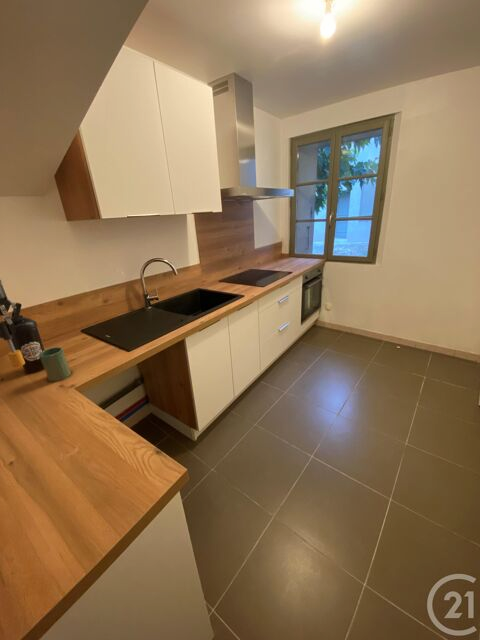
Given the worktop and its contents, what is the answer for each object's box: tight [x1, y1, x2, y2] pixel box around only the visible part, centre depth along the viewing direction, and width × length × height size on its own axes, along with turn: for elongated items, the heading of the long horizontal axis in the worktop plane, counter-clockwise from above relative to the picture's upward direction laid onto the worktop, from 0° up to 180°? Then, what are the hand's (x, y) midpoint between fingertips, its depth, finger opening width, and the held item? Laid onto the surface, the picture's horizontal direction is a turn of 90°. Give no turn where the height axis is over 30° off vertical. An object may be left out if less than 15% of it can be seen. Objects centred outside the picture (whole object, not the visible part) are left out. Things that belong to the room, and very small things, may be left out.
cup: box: [39, 346, 72, 382], centre depth 102 cm, size 8×8×11 cm
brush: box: [0, 320, 25, 368], centre depth 88 cm, size 3×3×16 cm
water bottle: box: [11, 314, 45, 374], centre depth 107 cm, size 10×10×23 cm
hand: (6, 335), depth 87 cm, fingers closed on brush, 2 cm apart
